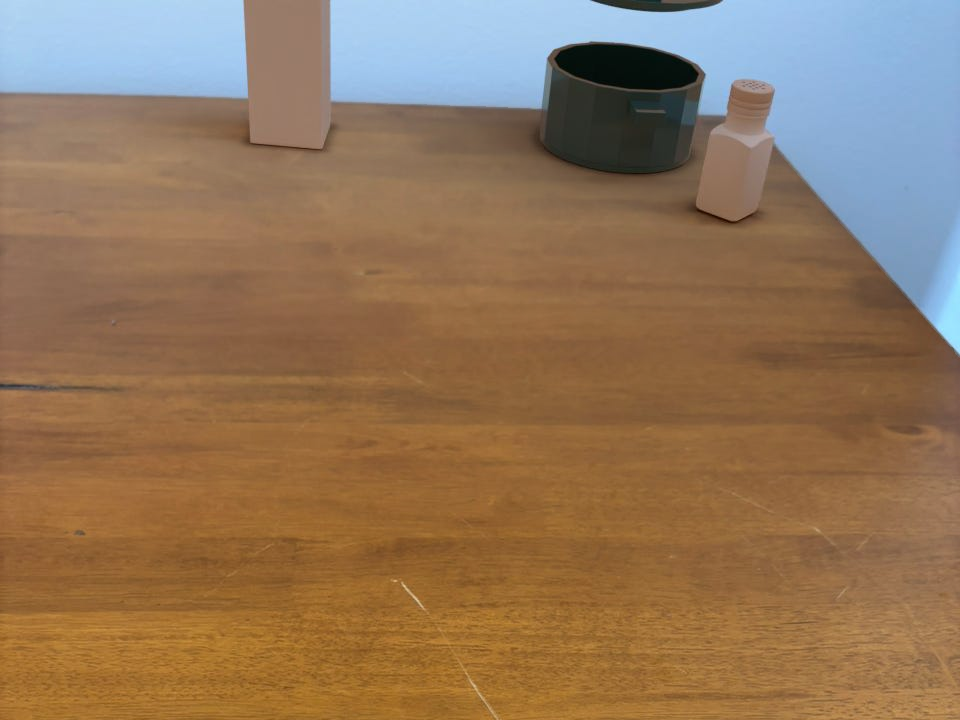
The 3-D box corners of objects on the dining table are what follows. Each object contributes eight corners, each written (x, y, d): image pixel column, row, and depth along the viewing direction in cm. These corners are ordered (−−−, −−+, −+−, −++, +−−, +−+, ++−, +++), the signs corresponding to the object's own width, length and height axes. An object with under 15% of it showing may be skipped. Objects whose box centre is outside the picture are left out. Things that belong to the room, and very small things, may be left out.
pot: (661, 111, 111) (674, 36, 107) (716, 188, 98) (733, 106, 94) (523, 105, 109) (531, 29, 105) (560, 184, 96) (571, 100, 92)
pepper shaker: (691, 209, 94) (716, 83, 88) (717, 197, 96) (744, 73, 90) (734, 225, 92) (763, 98, 86) (760, 212, 95) (790, 87, 88)
